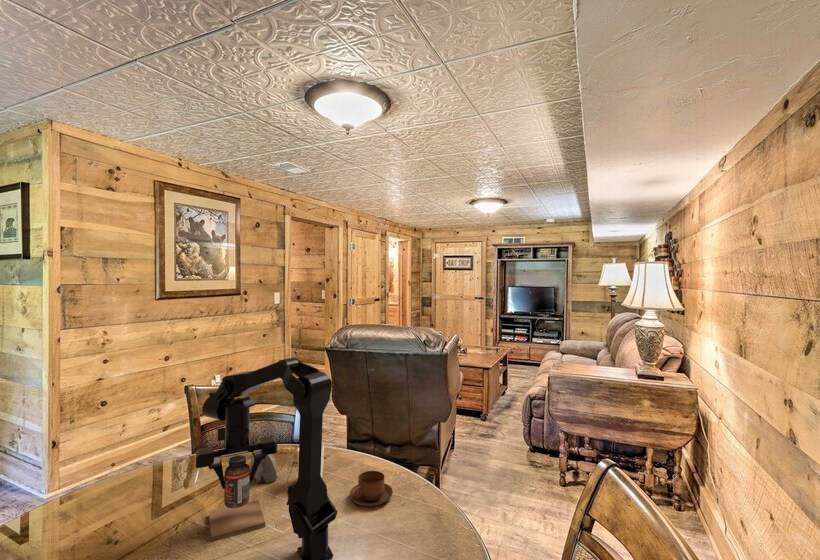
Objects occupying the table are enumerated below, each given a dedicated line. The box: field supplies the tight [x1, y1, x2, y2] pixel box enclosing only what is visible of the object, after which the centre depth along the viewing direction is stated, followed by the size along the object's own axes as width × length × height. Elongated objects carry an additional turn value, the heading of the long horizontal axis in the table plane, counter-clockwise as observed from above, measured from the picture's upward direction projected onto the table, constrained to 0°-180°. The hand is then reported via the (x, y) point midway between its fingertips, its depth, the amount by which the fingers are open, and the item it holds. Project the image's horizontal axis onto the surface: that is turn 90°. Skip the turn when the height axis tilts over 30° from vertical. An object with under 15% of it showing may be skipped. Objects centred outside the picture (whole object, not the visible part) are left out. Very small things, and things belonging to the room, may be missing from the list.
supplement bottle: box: [223, 454, 251, 508], centre depth 102 cm, size 6×6×11 cm
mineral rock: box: [254, 454, 279, 484], centre depth 128 cm, size 13×11×10 cm
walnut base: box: [208, 499, 266, 542], centre depth 102 cm, size 12×12×1 cm
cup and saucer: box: [349, 470, 393, 507], centre depth 113 cm, size 12×12×6 cm
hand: (237, 485), depth 102 cm, fingers closed on supplement bottle, 6 cm apart
